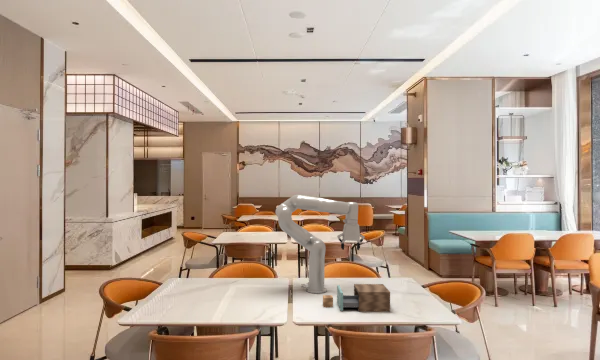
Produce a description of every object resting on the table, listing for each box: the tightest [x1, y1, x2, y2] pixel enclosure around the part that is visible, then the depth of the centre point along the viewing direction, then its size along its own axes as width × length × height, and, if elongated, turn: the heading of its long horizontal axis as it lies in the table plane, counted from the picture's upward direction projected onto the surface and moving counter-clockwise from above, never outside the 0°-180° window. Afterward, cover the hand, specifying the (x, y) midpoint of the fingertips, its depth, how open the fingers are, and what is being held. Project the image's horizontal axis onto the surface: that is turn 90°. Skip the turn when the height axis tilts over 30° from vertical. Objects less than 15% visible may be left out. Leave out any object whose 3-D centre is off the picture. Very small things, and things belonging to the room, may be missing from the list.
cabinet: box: [353, 283, 391, 313], centre depth 216 cm, size 16×16×10 cm
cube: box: [322, 294, 334, 308], centre depth 217 cm, size 5×5×5 cm
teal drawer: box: [336, 284, 359, 312], centre depth 215 cm, size 16×16×9 cm
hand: (350, 249), depth 252 cm, fingers open, 9 cm apart
